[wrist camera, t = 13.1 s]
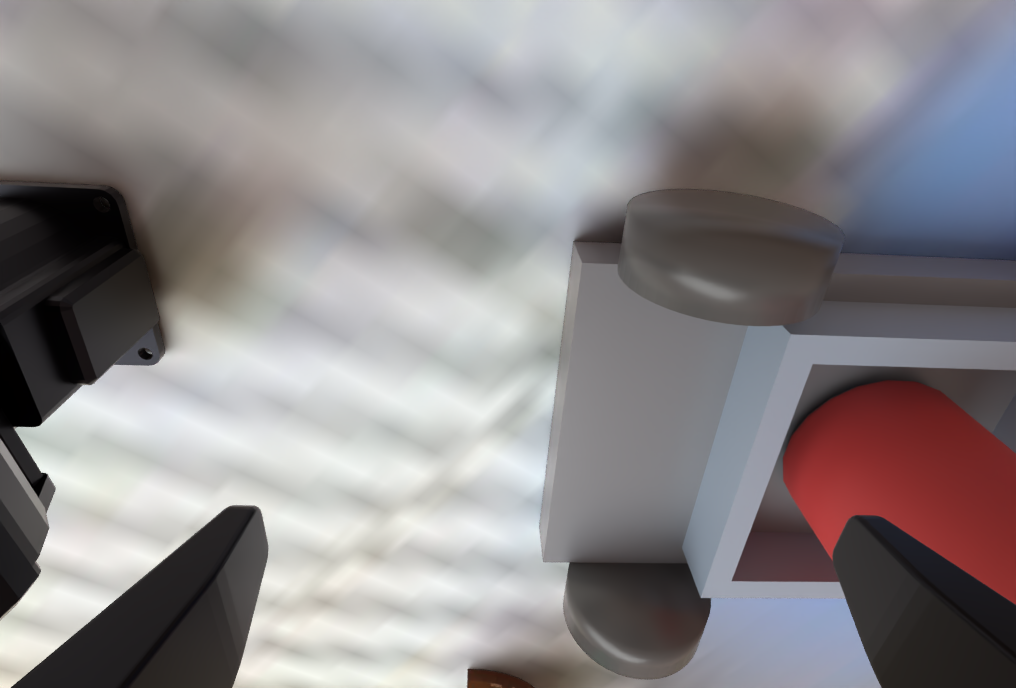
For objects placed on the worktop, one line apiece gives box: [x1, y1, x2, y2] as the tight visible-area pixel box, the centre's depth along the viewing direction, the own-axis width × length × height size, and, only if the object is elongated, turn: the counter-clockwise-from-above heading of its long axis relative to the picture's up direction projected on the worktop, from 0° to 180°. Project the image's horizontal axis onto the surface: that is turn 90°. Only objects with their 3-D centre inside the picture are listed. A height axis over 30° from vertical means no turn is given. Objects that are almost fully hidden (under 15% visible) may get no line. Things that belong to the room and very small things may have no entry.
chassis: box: [539, 189, 1016, 679], centre depth 22 cm, size 24×18×6 cm
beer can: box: [783, 380, 1016, 604], centre depth 18 cm, size 7×7×12 cm
